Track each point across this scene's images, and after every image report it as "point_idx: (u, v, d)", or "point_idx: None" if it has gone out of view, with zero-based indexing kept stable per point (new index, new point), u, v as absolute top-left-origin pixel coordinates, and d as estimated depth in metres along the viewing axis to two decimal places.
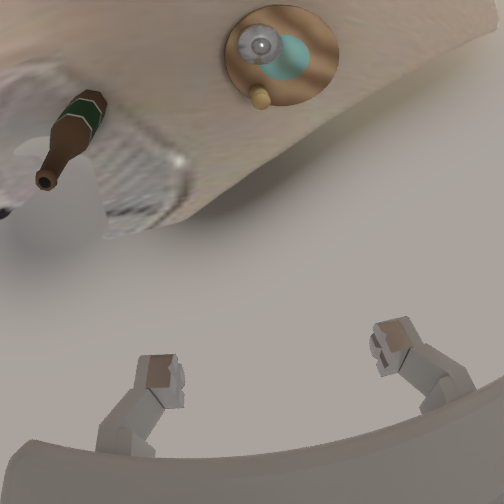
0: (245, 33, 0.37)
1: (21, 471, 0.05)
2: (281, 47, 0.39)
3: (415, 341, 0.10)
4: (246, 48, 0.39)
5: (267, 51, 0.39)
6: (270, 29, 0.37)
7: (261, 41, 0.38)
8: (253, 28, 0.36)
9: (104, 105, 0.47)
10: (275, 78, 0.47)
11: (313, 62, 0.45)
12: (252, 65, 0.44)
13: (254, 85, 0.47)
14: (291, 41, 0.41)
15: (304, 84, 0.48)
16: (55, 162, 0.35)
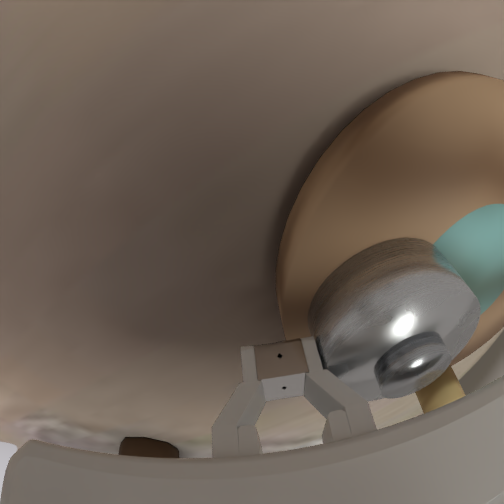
0: (331, 369, 0.10)
1: (21, 471, 0.05)
2: (476, 312, 0.09)
3: (313, 366, 0.10)
4: (364, 387, 0.11)
5: (441, 370, 0.09)
6: (421, 301, 0.08)
7: (410, 371, 0.09)
8: (350, 343, 0.09)
9: (165, 455, 0.28)
10: None
11: None
12: None
13: None
14: (476, 228, 0.11)
15: None
16: None
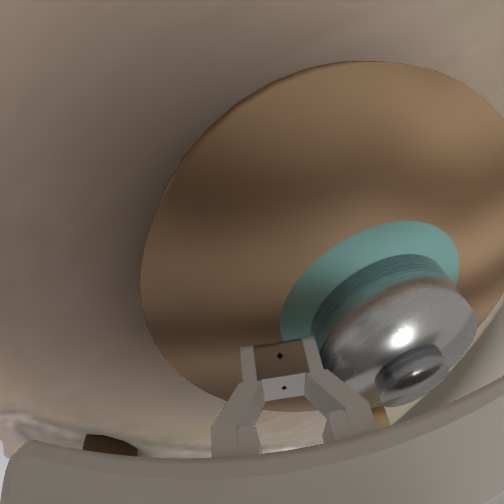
0: (338, 375, 0.10)
1: (21, 471, 0.05)
2: (473, 330, 0.10)
3: (314, 366, 0.10)
4: (361, 395, 0.11)
5: (437, 382, 0.10)
6: (432, 314, 0.08)
7: (412, 380, 0.09)
8: (363, 349, 0.09)
9: (122, 454, 0.28)
10: None
11: (471, 249, 0.11)
12: None
13: None
14: (369, 252, 0.11)
15: None
16: None
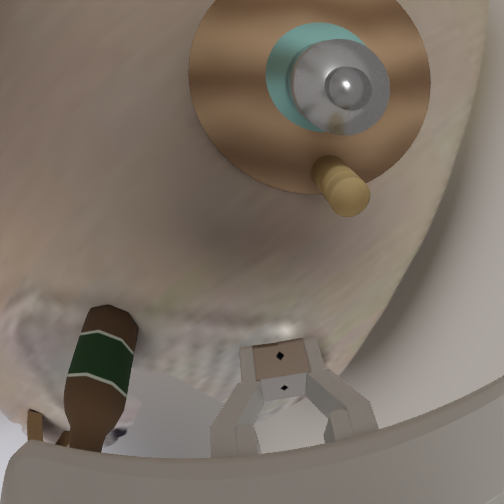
0: (299, 74, 0.17)
1: (21, 471, 0.05)
2: (384, 72, 0.17)
3: (315, 365, 0.10)
4: (321, 107, 0.18)
5: (367, 93, 0.17)
6: (342, 42, 0.15)
7: (343, 76, 0.16)
8: (308, 55, 0.16)
9: (123, 321, 0.34)
10: None
11: (378, 50, 0.18)
12: (280, 132, 0.22)
13: (315, 167, 0.23)
14: (309, 36, 0.17)
15: (396, 102, 0.21)
16: None
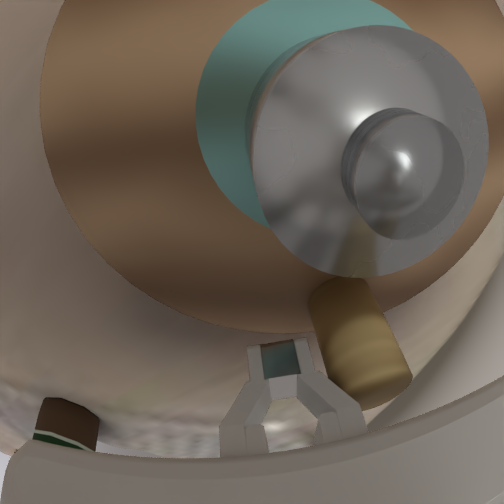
0: (265, 141, 0.06)
1: (21, 471, 0.05)
2: (482, 122, 0.06)
3: (305, 367, 0.10)
4: (329, 225, 0.07)
5: (452, 190, 0.06)
6: (391, 35, 0.05)
7: (400, 146, 0.05)
8: (291, 78, 0.05)
9: (78, 420, 0.24)
10: None
11: None
12: (244, 248, 0.11)
13: (315, 303, 0.13)
14: (298, 23, 0.07)
15: None
16: None
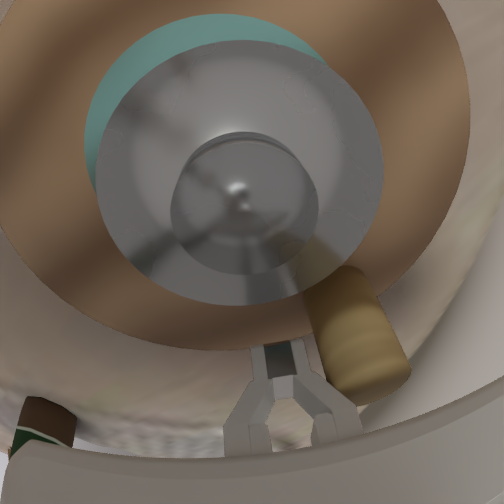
0: (124, 244, 0.07)
1: (21, 471, 0.05)
2: (324, 74, 0.05)
3: (301, 368, 0.10)
4: (221, 272, 0.08)
5: (301, 193, 0.06)
6: (143, 89, 0.05)
7: (197, 201, 0.06)
8: (103, 192, 0.06)
9: (56, 418, 0.24)
10: None
11: (291, 6, 0.07)
12: None
13: (306, 307, 0.13)
14: None
15: (402, 95, 0.08)
16: None
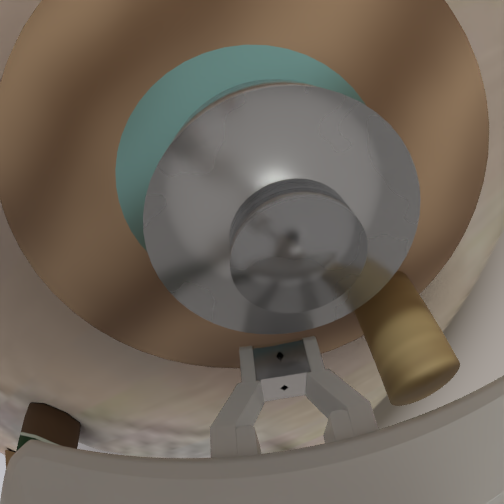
0: (182, 295, 0.08)
1: (21, 471, 0.05)
2: (356, 110, 0.05)
3: (315, 365, 0.10)
4: None
5: (351, 235, 0.06)
6: (179, 151, 0.06)
7: (255, 257, 0.06)
8: (155, 253, 0.07)
9: (61, 425, 0.24)
10: None
11: (301, 27, 0.07)
12: None
13: (356, 315, 0.13)
14: (152, 146, 0.08)
15: (423, 100, 0.08)
16: None
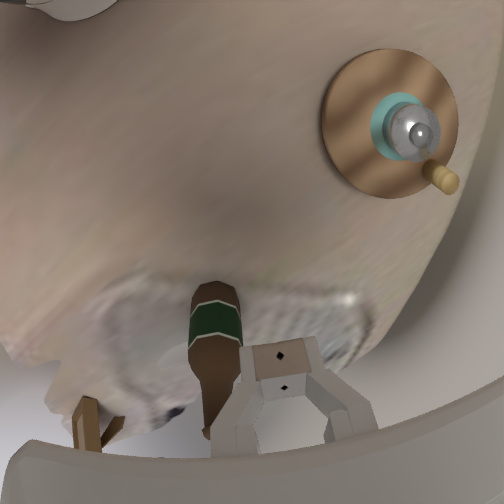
0: (397, 145, 0.30)
1: (21, 471, 0.05)
2: (429, 111, 0.27)
3: (315, 365, 0.10)
4: (414, 152, 0.30)
5: (430, 132, 0.28)
6: (404, 114, 0.28)
7: (417, 134, 0.28)
8: (395, 133, 0.29)
9: (233, 293, 0.46)
10: None
11: (414, 89, 0.29)
12: (399, 168, 0.35)
13: (424, 173, 0.35)
14: (382, 112, 0.30)
15: (438, 108, 0.30)
16: (218, 410, 0.31)
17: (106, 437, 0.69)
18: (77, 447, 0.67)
